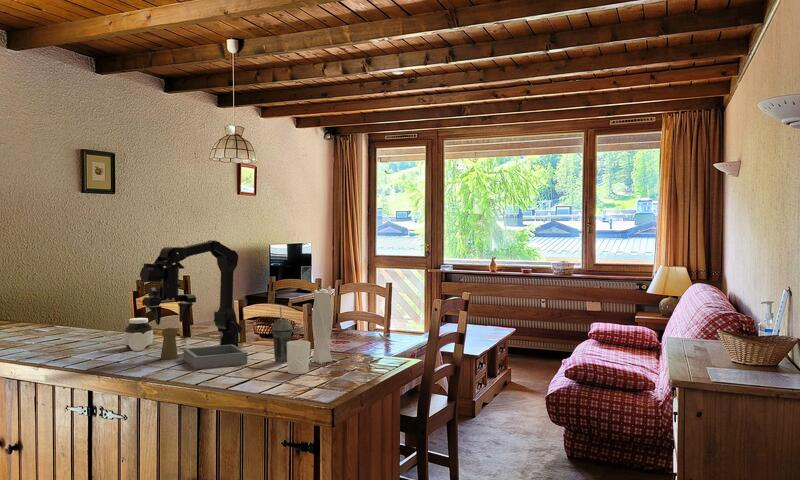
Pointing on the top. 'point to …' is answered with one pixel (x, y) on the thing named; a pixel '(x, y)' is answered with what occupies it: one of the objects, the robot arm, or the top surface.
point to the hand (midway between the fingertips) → (169, 323)
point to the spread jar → (138, 334)
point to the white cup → (298, 356)
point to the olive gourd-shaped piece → (169, 344)
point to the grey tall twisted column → (322, 325)
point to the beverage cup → (281, 338)
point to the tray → (215, 356)
